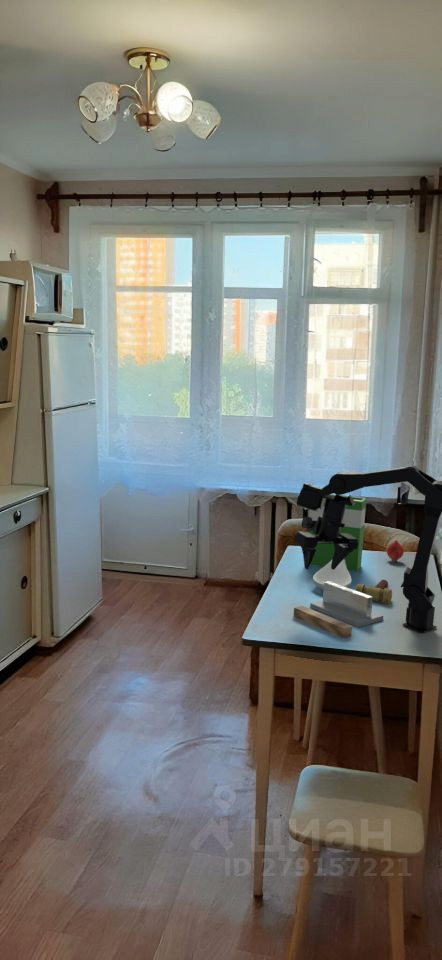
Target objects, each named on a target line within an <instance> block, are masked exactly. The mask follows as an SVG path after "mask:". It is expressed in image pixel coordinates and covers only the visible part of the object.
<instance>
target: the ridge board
mask: <svg viewBox="0 0 442 960" xmlns="http://www.w3.org/2000/svg"><path fill="white" fill-rule="evenodd" d="M309 607H310V609H312V610H313V609H314V610H315V611H317V612H320V613H322V614H325V615H327V616H330V617H332V618H333V617H334V619H335V618H336V619H337V620H339V621H342V622H344V623H345V622H346V623H347V624H349V625H353V626H355V627H357V628H360V627H361V628H362V627H364V626H368V625H370V624H373V623H377V622H380V621H383V620H384V615H383V614H380V613H377V612H376V611H372V612H371V618H367V619H366V618H363V617H360V616H358V615H355V614H353V613H350V612H348V611H345V610H343V609H340V608H338V607H335V606H333V605H330V604H327V603H325V602H323V599H321V600H317V601H315V602H310V605H309Z"/></svg>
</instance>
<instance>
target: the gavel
mask: <svg viewBox="0 0 442 960" xmlns="http://www.w3.org/2000/svg"><path fill="white" fill-rule="evenodd" d="M388 586H389V582H388V580H387V579H381V580H380V581H379V582H378V583H377V584H376V585H375V586H374V587H373V586H369V585H368V586H366V585H365V584H362V583H357V585H356V588H355V591H358V592H361V593H363V594H366V595H369V596H372V597H373V600H372V602H376V603H381V602H382V604H384V605H385V604H386V605H390V604H391V603H392V597H393V591H392V588H387V587H388Z"/></svg>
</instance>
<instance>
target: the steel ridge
mask: <svg viewBox="0 0 442 960" xmlns="http://www.w3.org/2000/svg"><path fill="white" fill-rule="evenodd" d="M322 593H323V594H322V600H323V602H325V603H327V604H330V605H333V606H335V607H338V608H340V609H343V610H345V611H348V612H350V613H353V614H355V615H358V616H360V617H363V618H366V619H367V618H371V612H373V611H372V610H373V601H372V600H373V597H372V596H369V595H366V594H363V593H361V592H358V591H356V589H351V588H349V587H348V588H347V587H344V586H341V585H338V584H336V583H333V582H330V581H327V582H324V591H323V590H322Z"/></svg>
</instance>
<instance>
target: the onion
mask: <svg viewBox="0 0 442 960" xmlns="http://www.w3.org/2000/svg"><path fill="white" fill-rule="evenodd" d="M398 541H399V540H398V539H395V540H394V541H392V542H391V543H390V544H389V545H388V546H387V548H386V554H387V557H388V558H389V559H391V561H392V562H394V561H395V562H397V561H398V560H399V559H402V557H403V555H404V547H403V546H402V544H401V543H399V542H398Z"/></svg>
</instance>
